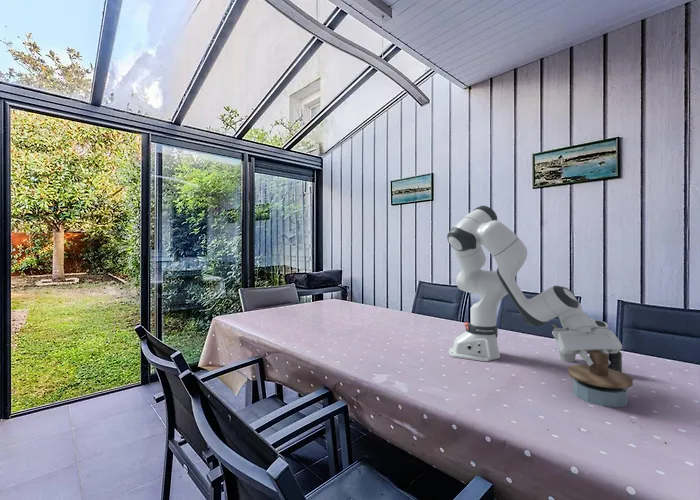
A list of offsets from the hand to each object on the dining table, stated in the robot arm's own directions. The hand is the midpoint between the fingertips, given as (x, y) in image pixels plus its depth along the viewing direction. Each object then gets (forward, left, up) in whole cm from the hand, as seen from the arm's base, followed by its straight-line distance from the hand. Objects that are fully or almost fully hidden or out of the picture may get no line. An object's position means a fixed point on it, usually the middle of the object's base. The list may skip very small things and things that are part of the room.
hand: (600, 364), depth 109 cm
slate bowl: (0, +1, -11) cm, 11 cm away
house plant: (+3, +37, -11) cm, 39 cm away
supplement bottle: (+13, +25, -11) cm, 30 cm away
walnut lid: (0, +1, -4) cm, 4 cm away
